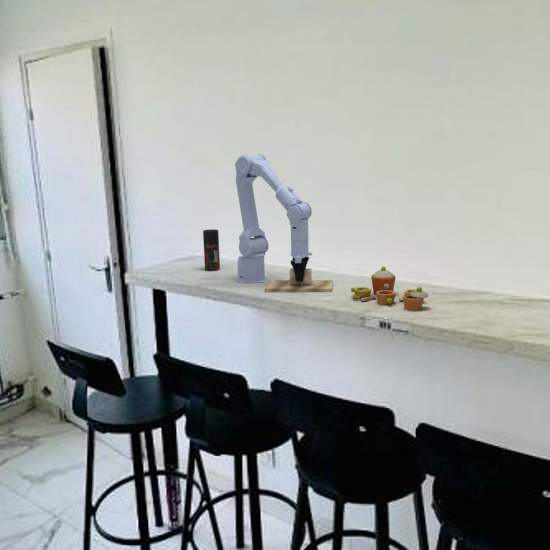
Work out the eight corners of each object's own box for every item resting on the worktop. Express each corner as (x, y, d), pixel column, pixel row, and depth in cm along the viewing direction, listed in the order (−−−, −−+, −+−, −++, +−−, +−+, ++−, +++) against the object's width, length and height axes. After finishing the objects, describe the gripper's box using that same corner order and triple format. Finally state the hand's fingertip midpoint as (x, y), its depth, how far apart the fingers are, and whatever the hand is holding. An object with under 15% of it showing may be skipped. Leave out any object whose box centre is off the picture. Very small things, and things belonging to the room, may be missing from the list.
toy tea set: (344, 300, 186) (344, 269, 184) (375, 291, 196) (376, 262, 194) (415, 317, 167) (416, 283, 165) (446, 305, 177) (447, 273, 175)
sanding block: (289, 285, 200) (289, 270, 199) (290, 282, 204) (290, 268, 203) (310, 285, 199) (310, 271, 198) (311, 283, 203) (311, 268, 202)
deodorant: (210, 266, 240) (209, 229, 237) (223, 267, 237) (221, 229, 234) (201, 269, 235) (199, 231, 232) (214, 270, 232) (212, 232, 229)
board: (264, 291, 197) (264, 288, 197) (269, 283, 209) (269, 280, 209) (332, 292, 194) (332, 288, 194) (333, 283, 206) (333, 280, 206)
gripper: (310, 243, 191) (310, 285, 193) (313, 236, 205) (313, 275, 207) (288, 243, 191) (288, 285, 194) (292, 236, 205) (293, 275, 208)
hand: (300, 280), depth 201 cm, fingers closed on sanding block, 4 cm apart
